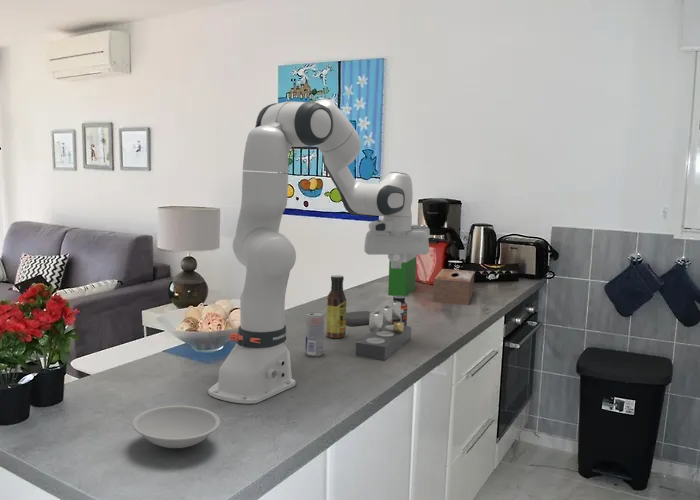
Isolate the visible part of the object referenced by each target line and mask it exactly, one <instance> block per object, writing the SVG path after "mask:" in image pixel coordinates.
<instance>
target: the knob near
mask: <svg viewBox="0 0 700 500" xmlns="http://www.w3.org/2000/svg"><path fill="white" fill-rule="evenodd" d="M370 312H371V313H369V324H368V331H369V332H370V333H371V332H381V331H383V313H381V312H379V310H378V311H370Z"/></svg>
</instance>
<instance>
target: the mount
mask: <svg viewBox="0 0 700 500" xmlns="http://www.w3.org/2000/svg"><path fill="white" fill-rule="evenodd" d="M411 337H412V326H404V330H403V333H401V334H397V333H394V324H392V325H387V326H385V325H383V331H381V332H371V331H370V332H369V333H368V334H367V335H365V336H364V337H362V338H360V339H359V340H358V341H356V342H355V356H356V357H360V358H368V359H374V360H381V361H386V360H387V359H388V358H390V357H391V356H392V355H393V354H394V353H395V352H396V351H398V350H399V349H400V348H401V347H403V346H404V345H405V344H406V343H407V342H408V341H410V340H411Z"/></svg>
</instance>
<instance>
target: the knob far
mask: <svg viewBox="0 0 700 500" xmlns="http://www.w3.org/2000/svg"><path fill="white" fill-rule="evenodd" d="M387 304H388V305H387V306H389V307H392V319H400V316H401V302H398V301H393V300H390V301H388V302H387Z"/></svg>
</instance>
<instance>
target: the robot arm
mask: <svg viewBox="0 0 700 500" xmlns="http://www.w3.org/2000/svg"><path fill="white" fill-rule="evenodd" d="M315 146H316V147H317V149H319V151H320V153H321V154H322V162H323V165H324V166H323V167H324V168H325V170H326V173H327V174H328V176H329V177H330V179H331V181H332V182H333V184H334V186H335V187H336V189H337V191H338V193H339V196H340V199H341V201H342V204H343V207H344V208H345V210H346V211H347V213H349V214H350V215H354V216H355V215H357V216H358V215H360V216H361V215H362V216H363V215H365V216H366V215H368V216H379V217H382V218H380V219H378V220H375V221H372V222H369V224H368V231H367V233H366V235H365V239H364V249H363V250H364V252H365V254H366V255H371V256H372V255H373V256H374V255H377V256H378V255H385V256H386V255H387V258H388V259H389V260H390V262H391V268H392V269H401V263H402V262H403V261H404V259H405V255H416V256H417V255H420V256H421V255H428V253H429V252H430V243H429V238H430V231H431V230H430V227H428V226H426V225H425V224H412V222H413V221H412V219H413V214H412V204H413V198H414V197H413V196H414V194H413V181H412V178H411V176H410V175H409V174H407V173H404V172H399V171H396V172H395V171H391V172H387V173H386V177H385V178H384V179H382V180H381V181H380V182H378V183H374V182H372V183H371V182H364V181H359V180H356V179H355V177H354V175H353V174H352V172H351V170H350V168H349V166H350V164H352V163H353V162H354V161H355V160H356V159H357V157H358V156H359V154H360V153H361V152H360V151H361V149H362V148H361V147H362V141H361V138H360V136H359V133H358V132H357V130H356V129H355V127H354V125H352V123H351V122H350V119H348V117H347V116H346V114H344V113H343V111H342V110H341V109H340V108H339V107H338V106H337V105H336V104H335V103H334V102H332V101H331V100H329V99H323V98H322V99H318V100H315V101H294V100H293V101H292V100H290V101H289V100H288V101H285V102H284V101H283V102H280V103H279V102H278V103H277V102H275V103H272V104H268V105H266V106H265V107H262V109H261V110H260V111H259V113H258V115H257V117H256V121H255V126H254V128H252V129H251V130H250V131H249V132H248V134H247V138H246V141H245V147H244V152H243V158H242V159H243V160H242V161H243V164H242V180H241V181H242V183H241V185H242V186H241V204H240V210H239V215H238V220H237V224H236V231H235V236H234V238H233V241H232V250H233V254H234V256H235V258H236V259H237V261H238V262H239V263H240V264H241V265H242V266H245V270H246V273H245V279H244V285H243V289H242V292H241V294H240V299H239V301H240V305H239V307H240V310H239V311H240V313H239V315H240V316H239V317H240V323H239V327H238V330H237V333H236V332H231V333H230V334H229V340H230V341H232V342H235V344H234V345H235V346H234V347H233V348H232V349H231V351H230V352H229V354H228V355H227V357H226V359H225V360H224V361H223V363H222V364H221V366H220V368H219V371H218V381H217V382H216V383H215V384H213V385H212V386H210V387H209V389H207V390H208V392H207V394H208V395H209V396H210V397H212V398H215V399H219V400H222V401H225V402H231V403H236V404H258V403H260V402H262V401H264V400H267V399H269V398H271V397H273V396H275V395H277V394H280V393H283V392H285V391H287V390H289V389H291V388H293V387H295V386H296V380H295V379H294V378H293V376H292V366H291V364H292V363H291V354H290V353H291V352H290V351H289V349H288V347H287V345H286V341H287V334H288V332H287V326H286V325H285V317H286V316H285V315H286V313H285V312H286V311H285V308H286V307H285V306H286V305H285V303H286V302H285V301H286V292H287V286H288V281H289V277H290V274H291V270H292V269H293V268H294V266H295V263H296V261H297V251H296V249H295V246H294V245H293V244H292V242H291V241H290V240H289V239H288V238H287V236H285V235H284V234H282V233H281V232H280V225H281V222H282V217H283V214H284V212H285V209H286V208H287V205H288V192H289V191H288V190H289V189H288V187H289V183H288V182H289V153H290V151H291V149H292V147H293V148H295V147H296V148H299V147H315ZM394 255H399V257H400V260H399V262H393V260H392V258H393V257H394Z"/></svg>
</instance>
